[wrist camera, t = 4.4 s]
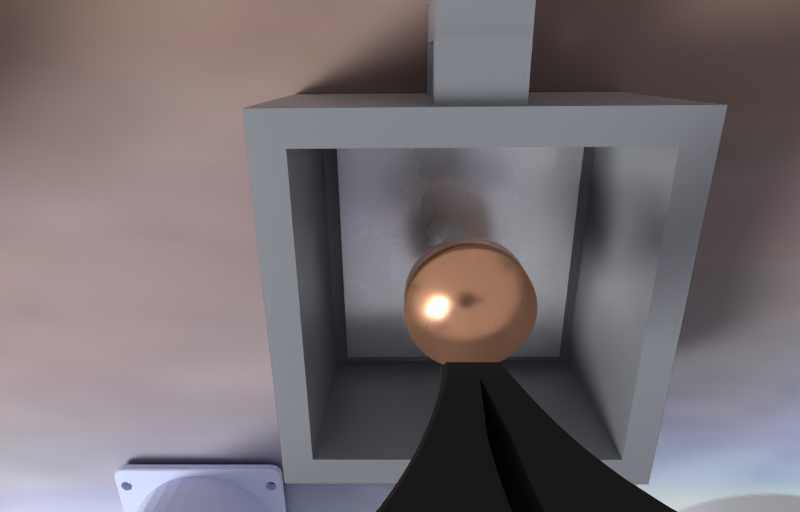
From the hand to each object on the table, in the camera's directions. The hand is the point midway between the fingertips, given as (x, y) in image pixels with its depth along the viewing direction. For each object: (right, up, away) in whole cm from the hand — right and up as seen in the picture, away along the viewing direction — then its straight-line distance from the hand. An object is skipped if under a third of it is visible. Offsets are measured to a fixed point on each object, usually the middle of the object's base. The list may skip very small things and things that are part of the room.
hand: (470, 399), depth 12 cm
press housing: (+1, +5, +9) cm, 10 cm away
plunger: (+1, +3, +9) cm, 9 cm away
